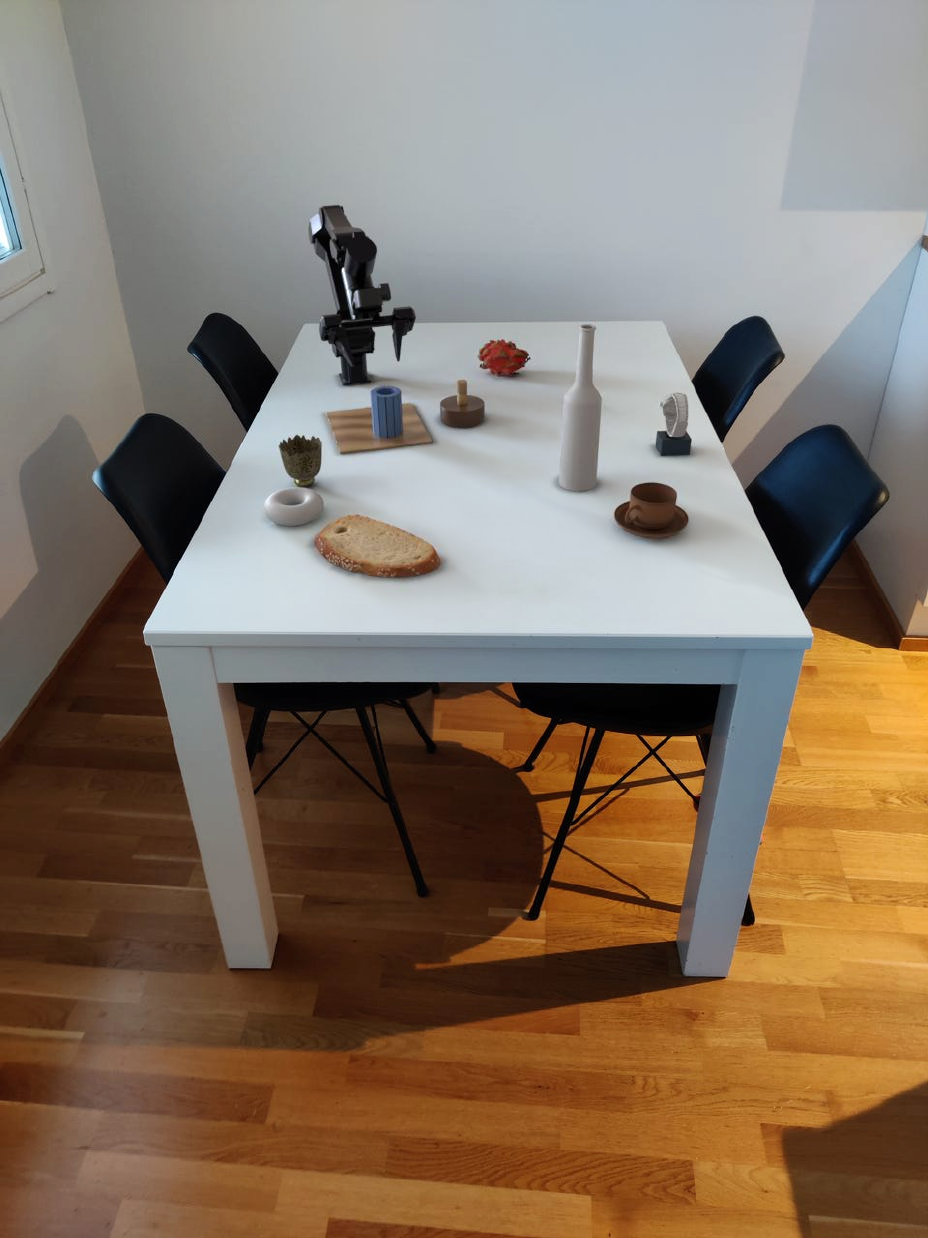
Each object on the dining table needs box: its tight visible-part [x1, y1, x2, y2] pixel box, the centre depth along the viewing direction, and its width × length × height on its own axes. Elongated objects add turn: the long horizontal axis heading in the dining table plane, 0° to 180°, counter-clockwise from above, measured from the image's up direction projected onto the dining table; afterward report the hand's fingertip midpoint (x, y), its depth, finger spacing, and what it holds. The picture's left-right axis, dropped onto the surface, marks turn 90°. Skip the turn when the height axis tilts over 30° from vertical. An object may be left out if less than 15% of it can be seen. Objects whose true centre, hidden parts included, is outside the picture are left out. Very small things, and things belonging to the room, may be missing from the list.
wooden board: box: [325, 402, 433, 455], centre depth 189 cm, size 20×18×1 cm
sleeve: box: [369, 385, 403, 438], centre depth 184 cm, size 6×6×8 cm
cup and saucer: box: [613, 481, 689, 539], centre depth 153 cm, size 12×12×6 cm
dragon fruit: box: [477, 338, 531, 378], centre depth 211 cm, size 8×8×12 cm
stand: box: [439, 379, 486, 429], centre depth 190 cm, size 9×9×8 cm
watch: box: [655, 392, 693, 457], centre depth 176 cm, size 6×8×11 cm
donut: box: [263, 486, 325, 527], centre depth 159 cm, size 10×4×10 cm
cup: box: [278, 434, 323, 488], centre depth 167 cm, size 8×7×8 cm
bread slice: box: [313, 513, 442, 579], centre depth 148 cm, size 18×18×4 cm
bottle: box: [558, 323, 603, 493], centre depth 160 cm, size 7×7×28 cm
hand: (376, 363), depth 185 cm, fingers open, 9 cm apart
